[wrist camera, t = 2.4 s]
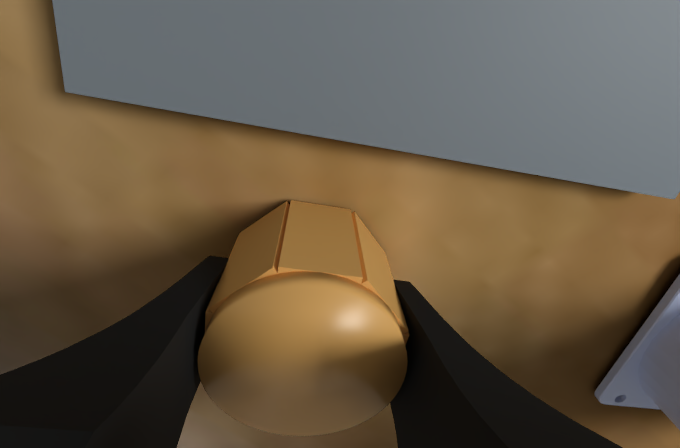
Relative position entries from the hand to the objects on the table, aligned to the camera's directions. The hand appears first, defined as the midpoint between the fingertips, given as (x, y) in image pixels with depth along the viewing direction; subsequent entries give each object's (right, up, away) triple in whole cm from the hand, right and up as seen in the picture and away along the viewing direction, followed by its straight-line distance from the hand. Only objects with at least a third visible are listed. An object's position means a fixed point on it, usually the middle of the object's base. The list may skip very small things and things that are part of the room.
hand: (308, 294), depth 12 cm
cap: (0, +1, +1) cm, 1 cm away
